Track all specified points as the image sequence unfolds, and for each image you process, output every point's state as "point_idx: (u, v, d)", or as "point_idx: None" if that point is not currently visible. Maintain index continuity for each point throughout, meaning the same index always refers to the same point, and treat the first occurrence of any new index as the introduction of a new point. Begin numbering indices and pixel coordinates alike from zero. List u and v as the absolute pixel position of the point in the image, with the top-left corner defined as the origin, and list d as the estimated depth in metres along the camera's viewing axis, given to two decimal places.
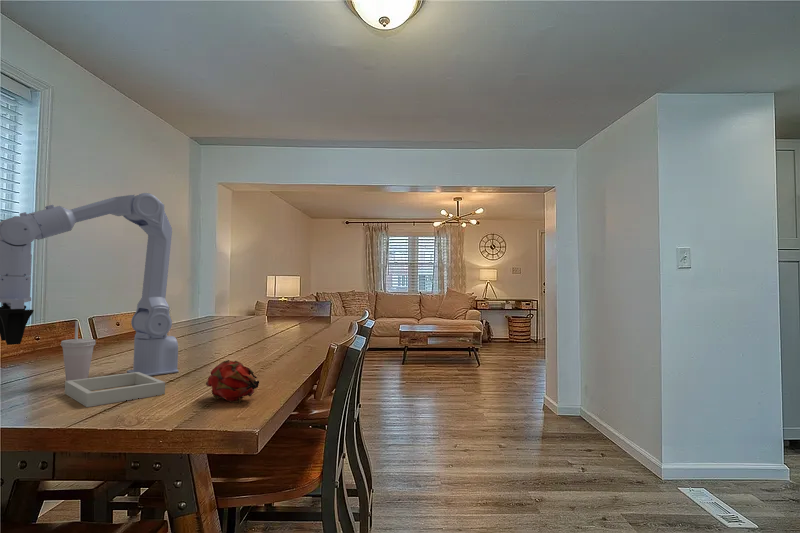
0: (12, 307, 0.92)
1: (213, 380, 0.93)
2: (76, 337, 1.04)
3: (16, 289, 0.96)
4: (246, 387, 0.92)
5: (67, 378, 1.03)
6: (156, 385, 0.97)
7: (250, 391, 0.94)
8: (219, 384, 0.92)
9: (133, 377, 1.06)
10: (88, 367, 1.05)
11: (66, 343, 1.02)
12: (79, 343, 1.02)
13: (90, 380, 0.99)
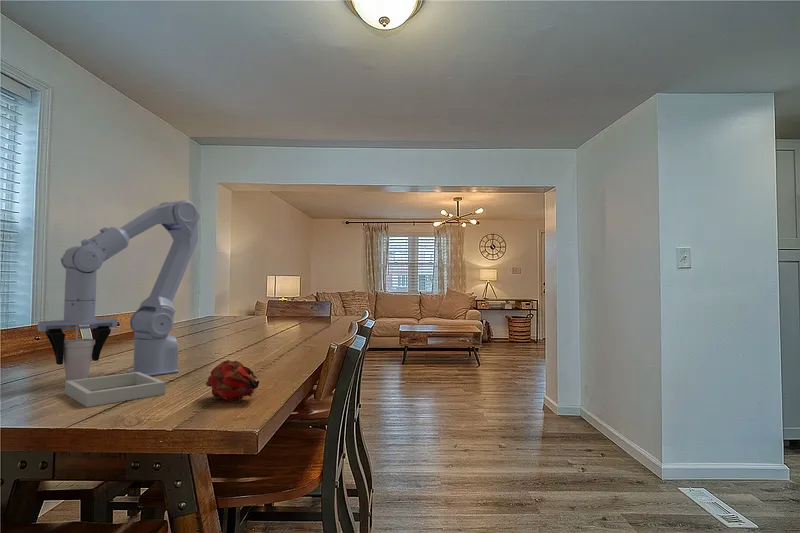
0: None
1: (213, 380, 0.93)
2: (76, 337, 1.04)
3: (64, 313, 1.03)
4: (246, 387, 0.92)
5: (67, 378, 1.03)
6: (156, 385, 0.97)
7: (250, 391, 0.94)
8: (219, 384, 0.92)
9: (133, 377, 1.06)
10: (88, 367, 1.05)
11: (66, 343, 1.02)
12: (79, 343, 1.02)
13: (90, 380, 0.99)
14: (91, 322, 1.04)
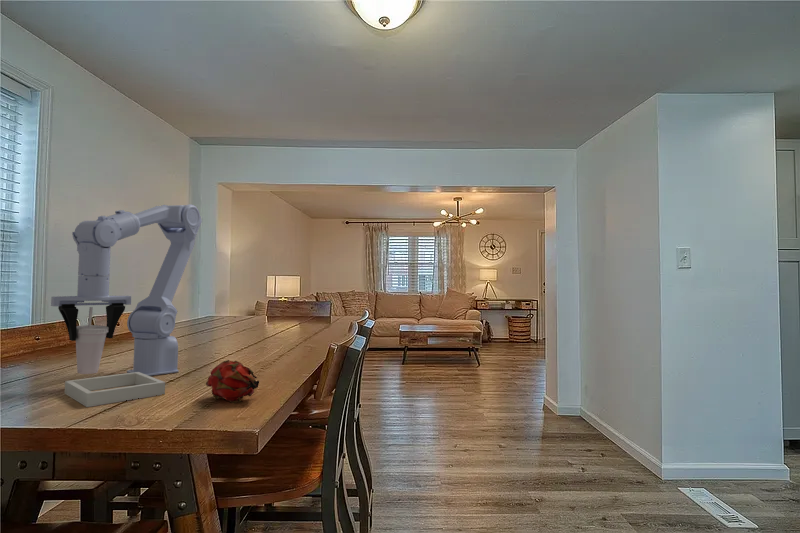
0: (51, 304, 0.98)
1: (213, 380, 0.93)
2: (89, 324, 1.02)
3: (78, 288, 1.00)
4: (246, 387, 0.92)
5: (79, 365, 1.00)
6: (156, 385, 0.97)
7: (250, 391, 0.94)
8: (219, 384, 0.92)
9: (133, 377, 1.06)
10: (100, 355, 1.03)
11: (80, 329, 0.99)
12: (93, 330, 1.00)
13: (90, 380, 0.99)
14: (105, 298, 1.02)
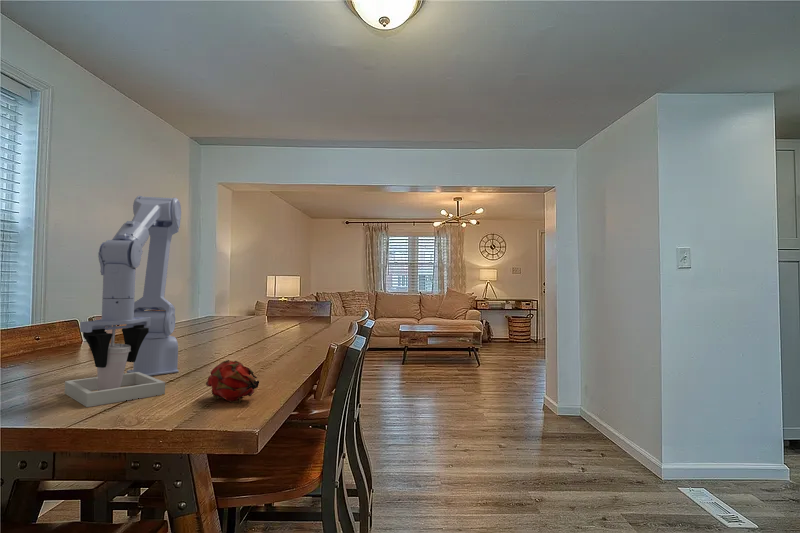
0: (80, 330, 0.91)
1: (213, 380, 0.93)
2: (113, 342, 0.97)
3: (106, 312, 0.95)
4: (246, 387, 0.92)
5: (103, 386, 0.96)
6: (156, 385, 0.97)
7: (250, 391, 0.94)
8: (219, 384, 0.92)
9: (133, 377, 1.06)
10: None
11: (108, 349, 0.95)
12: (122, 349, 0.97)
13: (90, 380, 0.99)
14: (134, 321, 0.98)
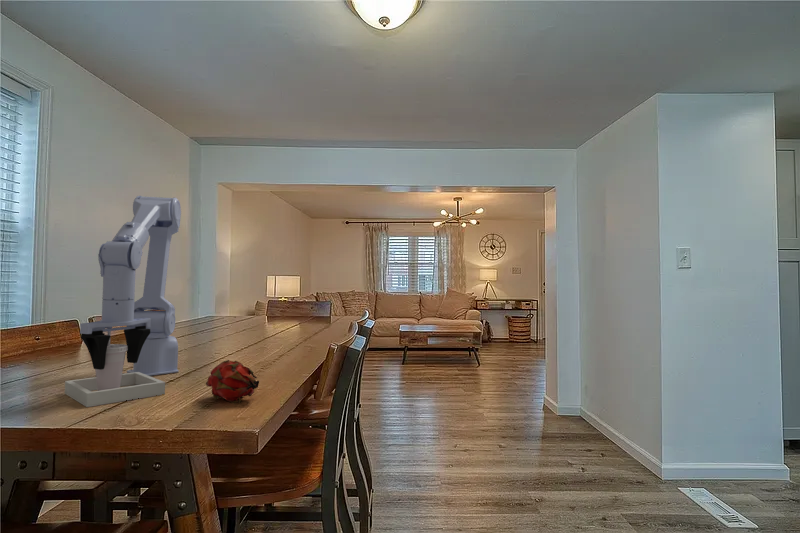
0: (80, 331, 0.91)
1: (213, 380, 0.93)
2: (109, 343, 0.97)
3: (106, 313, 0.95)
4: (246, 387, 0.92)
5: (102, 387, 0.96)
6: (156, 385, 0.97)
7: (250, 391, 0.94)
8: (219, 384, 0.92)
9: (133, 377, 1.06)
10: (121, 374, 0.99)
11: None
12: (118, 349, 0.96)
13: (90, 380, 0.99)
14: (134, 322, 0.98)
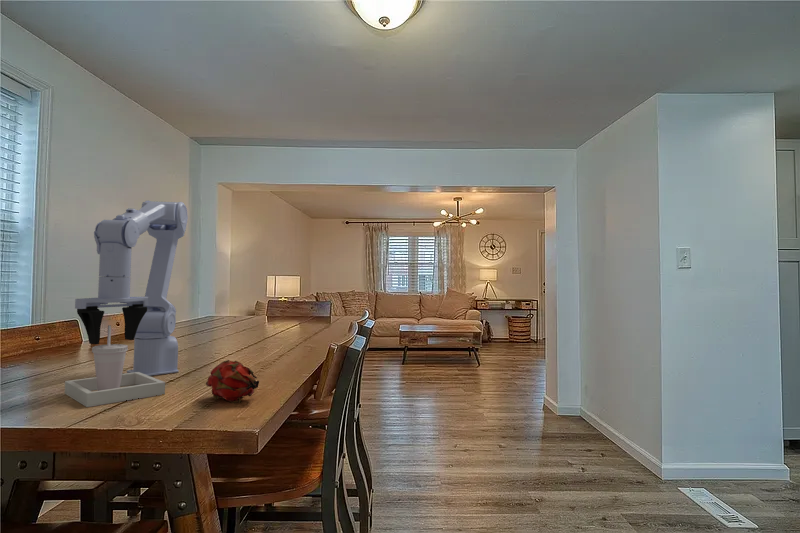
0: (75, 306, 0.94)
1: (213, 380, 0.93)
2: (109, 343, 0.97)
3: (101, 289, 0.97)
4: (246, 387, 0.92)
5: (102, 387, 0.96)
6: (156, 385, 0.97)
7: (250, 391, 0.94)
8: (219, 384, 0.92)
9: (133, 377, 1.06)
10: (121, 374, 0.99)
11: (104, 349, 0.95)
12: (119, 349, 0.97)
13: (90, 380, 0.99)
14: (129, 299, 1.00)
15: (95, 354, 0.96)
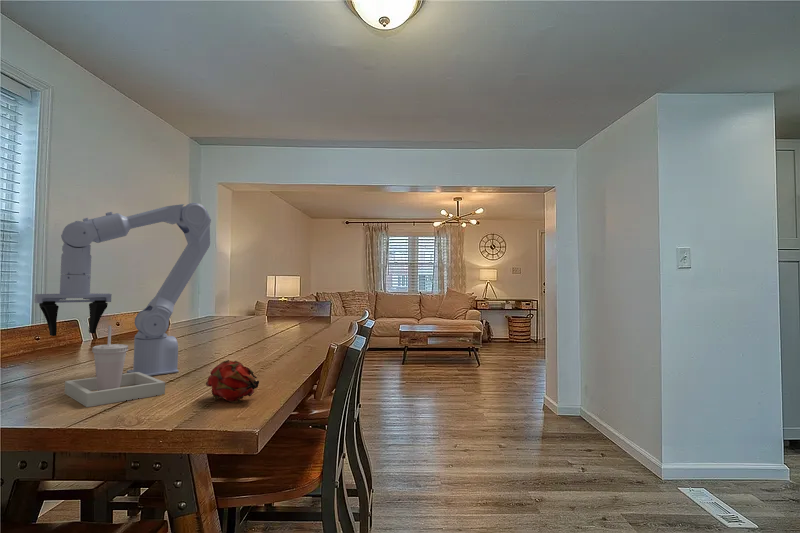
0: None
1: (213, 380, 0.93)
2: (110, 343, 0.97)
3: (60, 286, 1.06)
4: (246, 387, 0.92)
5: (102, 387, 0.96)
6: (156, 385, 0.97)
7: (250, 391, 0.94)
8: (219, 384, 0.92)
9: (133, 377, 1.06)
10: None
11: (104, 349, 0.95)
12: (119, 349, 0.97)
13: (90, 380, 0.99)
14: (86, 296, 1.08)
15: (95, 354, 0.96)
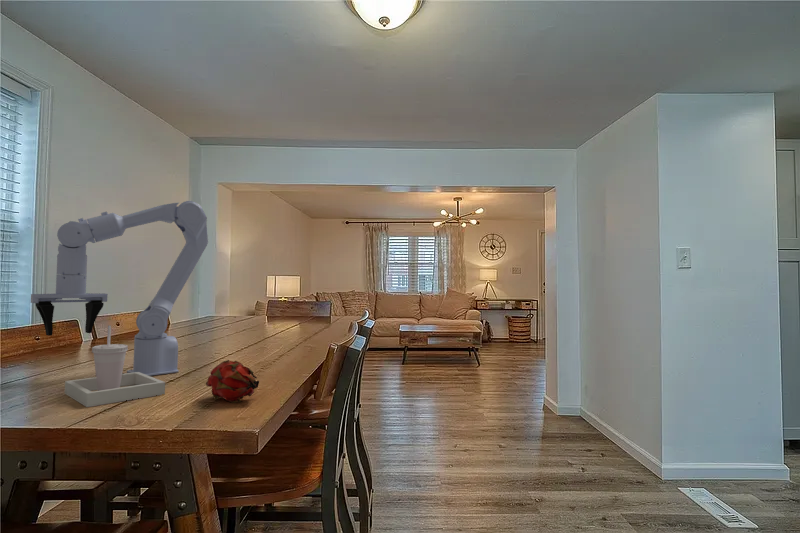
0: None
1: (213, 380, 0.93)
2: (109, 343, 0.97)
3: (56, 286, 1.07)
4: (246, 387, 0.92)
5: (102, 387, 0.96)
6: (156, 385, 0.97)
7: (250, 391, 0.94)
8: (219, 384, 0.92)
9: (133, 377, 1.06)
10: (121, 374, 0.99)
11: (104, 349, 0.95)
12: (118, 349, 0.96)
13: (90, 380, 0.99)
14: (82, 295, 1.09)
15: (95, 354, 0.96)
